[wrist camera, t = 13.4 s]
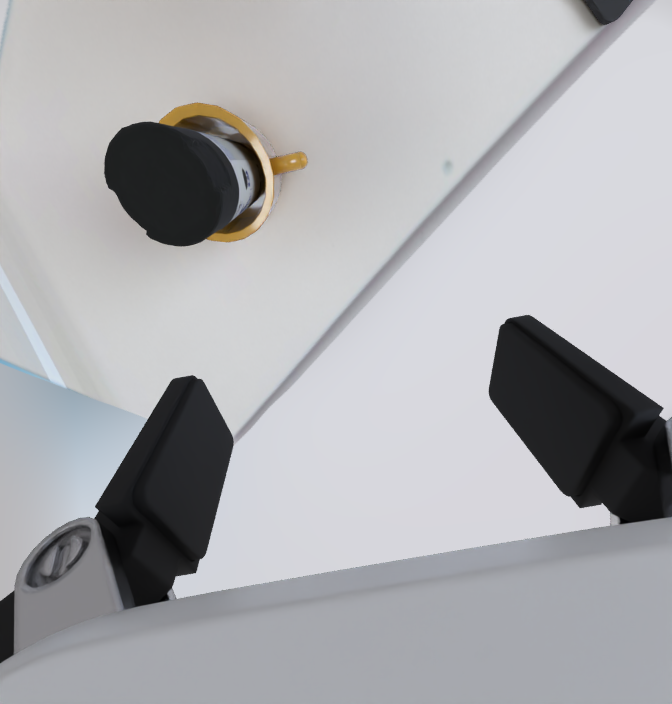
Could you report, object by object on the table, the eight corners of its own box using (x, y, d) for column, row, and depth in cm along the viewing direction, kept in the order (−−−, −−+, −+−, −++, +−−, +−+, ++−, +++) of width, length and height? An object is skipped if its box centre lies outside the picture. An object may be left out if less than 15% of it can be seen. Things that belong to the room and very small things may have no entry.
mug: (211, 231, 38) (184, 252, 29) (170, 129, 32) (122, 119, 24) (317, 207, 37) (320, 222, 29) (295, 100, 31) (291, 79, 23)
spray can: (228, 217, 36) (162, 267, 20) (191, 158, 33) (71, 157, 16) (275, 191, 35) (247, 221, 19) (241, 126, 32) (170, 91, 15)
